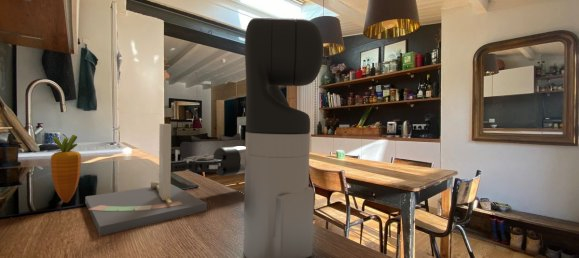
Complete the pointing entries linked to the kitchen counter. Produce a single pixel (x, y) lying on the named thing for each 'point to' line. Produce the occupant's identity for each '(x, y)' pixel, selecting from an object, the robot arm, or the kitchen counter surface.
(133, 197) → the gauge dial plate
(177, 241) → the kitchen counter surface
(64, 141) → the carrot
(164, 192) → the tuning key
